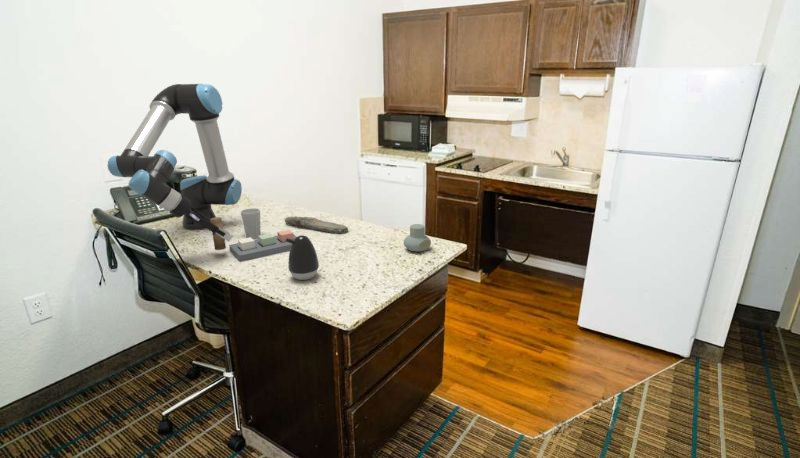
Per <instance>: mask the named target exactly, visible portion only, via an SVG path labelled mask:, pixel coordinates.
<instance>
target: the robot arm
mask: <svg viewBox="0 0 800 458" xmlns="http://www.w3.org/2000/svg"><path fill="white" fill-rule="evenodd" d="M222 111H223V99H222V96H221V93H220V92H219V90H218V89H217V88H216V87H215V86H213V85H212V84H207V83H205V84H204V83H175V84H172V85H170V86H166V87H165V88H164V89H162V90H161V91H160V92H158V94H156V95H155V97H154V98H153V99H152V101H151V102H150V104H149V111H148V112H147V114H146V116H145V117H144V119H143V120H142V122H141V123H140V125H138V128H137V129H136V131H135V132H134V134H133V135H132V137H131V139H130V140H129V142H128V143H127V145H126V147H125V148H124V150H123V151H122V153H121V154H120V155H118V154H117V155H113V156H110V158H108V160H107V169H108V170H107V171H109V173H110V174H111V175H112V176H114V177H119V178H130V180H128V181H129V182H128V187H129V188H130V189H131V190H132V191H134V192H135V193H136V194H137V195H140V196H142V197H143V198H145V199H147V200H148V201H150V202H151V203H153V204H155V205H157V206H159V207H158V208H159V209H160V210H161V209H163V210H165V211H167V212H169V213H170V214H171V215H174V217H176V218H182V216H183V218H182V228H183V229H185V230H190V231H197V230H198V231H199V230H205V229H206V230H208V231H210V232H211V233H212V232H213V234H212V236H213V235H214V234H217V235H218V236H220V237H222V238H223V239H225V241H227V242H228V243H230V241H231V240H232V239H233V237H234V236H233V235H232V234H231V233H230V231H228V230H226V229H225V228H223V229H221V228H220V227H217V226H216V225H214V224H213V223H211V221H210V219H211V218H215V217H217V216H216V214H215V213H214V210H213V208H212V205H215V206H216V205H217V206H218V205H219V206H230V205H231V206H232V205H236V204H238V202H239V201H240V199H241V196H242V188H243V187H242V183H241V181H240V180H239V179H235V176H234V173H233V172H230V170H229V166H228V162H227V156H226V153H225V150H224V149H225V148H224V145H223V141H222V136H221V132H220V128H219V124H218V119H219V118H220V114H221V112H222ZM181 114H187V115H188V117H189V120H190V121H191V122H193V123H194V124H195V127H196V131H197V135H198V139H199V142H200V145H201V146H200V147H201V150H202V154H203V157H204V162H205V165H206V170H207V173H208V176H207V175H204V174H203V175H196V176H190V177H188V178H184V179H182V180H180V184H179V186H180V192H179V191H177V190H175V188H172V187H171V186H169V185H168V184H166V183H167V182H168V180H169V179H170V178H171V175H172V173H173V171H174V170H175V169H176V165H177V164H178V163H177V162H178V160H177V157H176V156H175V155H174V154H173V152H171V151H168V150H165V149H160V150H157V151H156V152H155V153H154V154H153V155H152V156H151V155H150V154H151V152H152V150H153V149H154V147H155V146H156V144H157V143H158V140H159V138H160V137H161V135H162V134H163V132H164V130H165V129H166V127H167V126H168V123H169V122H170V121H173V120H174V119H175V117H176V116H178V115H181ZM149 155H150V156H149Z"/></svg>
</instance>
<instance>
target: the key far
mask: <svg viewBox="0 0 800 458" xmlns="http://www.w3.org/2000/svg"><path fill="white" fill-rule="evenodd" d="M276 233H277V235H278V239H279V240H280V241H281V242H286V238H288V239H292V240H294V235H295V233H294V232H293V231H291V230H290V229H287V230H286V229H285V230H282V231H277V232H276Z"/></svg>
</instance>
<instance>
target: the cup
mask: <svg viewBox="0 0 800 458" xmlns="http://www.w3.org/2000/svg"><path fill="white" fill-rule="evenodd" d="M240 215H241V220H242V222H243V223H242V224H243V229H244V234H245V238H250V237H251V238H252V239H253V240H257V239H258V236H260V235H262V234H261V233H262V232H261V209H260V208H252V207H251V208H246V209H242V210H240Z"/></svg>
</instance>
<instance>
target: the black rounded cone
mask: <svg viewBox="0 0 800 458" xmlns="http://www.w3.org/2000/svg"><path fill="white" fill-rule="evenodd" d="M286 241H287V242H289V243H291V244H292V246H291V249H290V251H289V252H288V253H289V254H288V262H287V263H288V265H287V267H288V271H289V273H290V274H291V276H292V277H293V278H294V279H296V280H299V281H306V280H307V281H308V280H310V279H312V278H313V277H315V276H316V275H317V273H318V269H319V266H320V264H319V258H318V255H317V251H316V249H315V246H314V244H313V242H312V241H311V239H310V238H309V237H308V236H306V235H304V234H303V235H302V234H300V235H298V236H297V237H296V238H295V239H294V240H292V239H288V238H286Z"/></svg>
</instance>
